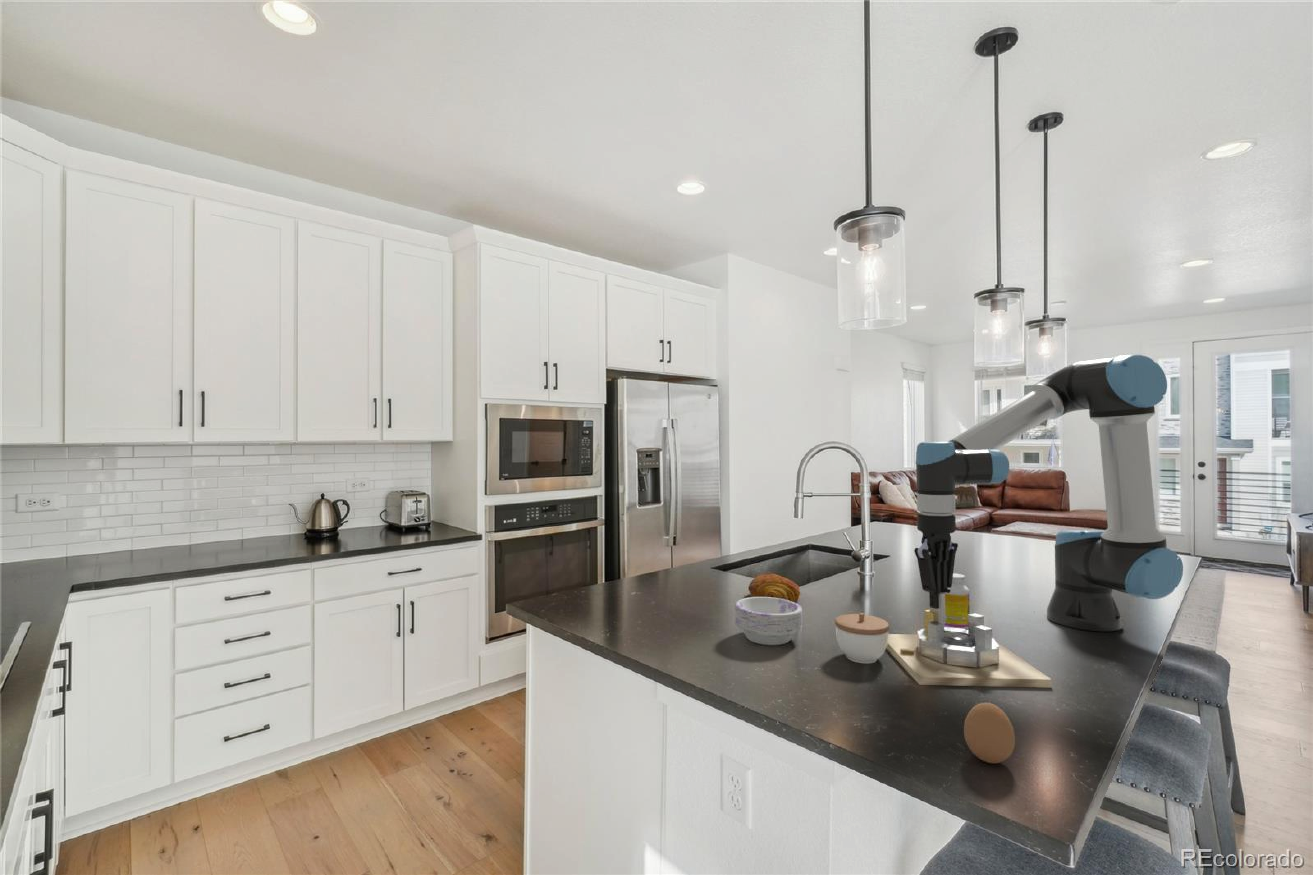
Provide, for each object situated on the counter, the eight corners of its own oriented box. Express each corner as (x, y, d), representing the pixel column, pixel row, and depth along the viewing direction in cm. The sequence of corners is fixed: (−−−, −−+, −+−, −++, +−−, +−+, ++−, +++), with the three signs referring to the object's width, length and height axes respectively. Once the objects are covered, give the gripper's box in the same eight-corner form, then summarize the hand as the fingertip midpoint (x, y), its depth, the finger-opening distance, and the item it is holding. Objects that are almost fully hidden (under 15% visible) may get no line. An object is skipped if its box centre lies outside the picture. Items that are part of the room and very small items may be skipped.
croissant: (748, 613, 164) (747, 585, 163) (749, 590, 179) (748, 565, 178) (802, 614, 162) (801, 586, 161) (798, 591, 177) (798, 565, 176)
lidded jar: (862, 672, 118) (862, 624, 118) (824, 654, 128) (824, 610, 127) (900, 662, 123) (900, 617, 123) (860, 645, 132) (860, 603, 132)
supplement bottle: (973, 633, 141) (973, 579, 141) (943, 631, 142) (943, 577, 142) (964, 624, 147) (964, 572, 147) (935, 622, 149) (935, 571, 148)
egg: (1009, 779, 81) (1009, 719, 81) (958, 761, 86) (958, 704, 86) (1019, 759, 86) (1019, 703, 86) (970, 744, 90) (970, 690, 90)
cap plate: (987, 642, 134) (987, 632, 134) (1051, 687, 111) (1051, 675, 110) (878, 640, 136) (878, 630, 136) (919, 684, 112) (919, 672, 112)
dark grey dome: (965, 649, 126) (965, 632, 126) (979, 660, 120) (980, 643, 120) (934, 648, 127) (934, 632, 127) (947, 660, 120) (947, 642, 120)
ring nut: (950, 637, 133) (950, 605, 133) (1013, 659, 120) (1013, 624, 120) (902, 647, 127) (902, 614, 127) (964, 671, 114) (964, 635, 113)
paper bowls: (814, 638, 138) (814, 603, 138) (779, 656, 126) (779, 618, 126) (758, 623, 148) (758, 592, 148) (721, 639, 137) (721, 604, 137)
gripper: (936, 509, 135) (938, 612, 135) (902, 514, 128) (904, 623, 128) (969, 512, 129) (971, 621, 129) (935, 518, 122) (937, 633, 122)
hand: (937, 622), depth 129 cm, fingers closed
